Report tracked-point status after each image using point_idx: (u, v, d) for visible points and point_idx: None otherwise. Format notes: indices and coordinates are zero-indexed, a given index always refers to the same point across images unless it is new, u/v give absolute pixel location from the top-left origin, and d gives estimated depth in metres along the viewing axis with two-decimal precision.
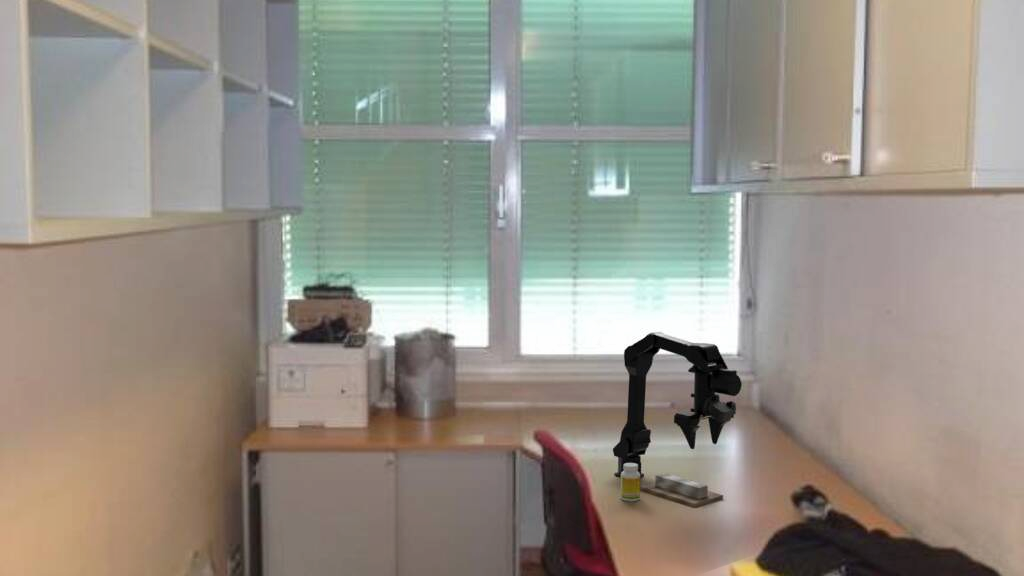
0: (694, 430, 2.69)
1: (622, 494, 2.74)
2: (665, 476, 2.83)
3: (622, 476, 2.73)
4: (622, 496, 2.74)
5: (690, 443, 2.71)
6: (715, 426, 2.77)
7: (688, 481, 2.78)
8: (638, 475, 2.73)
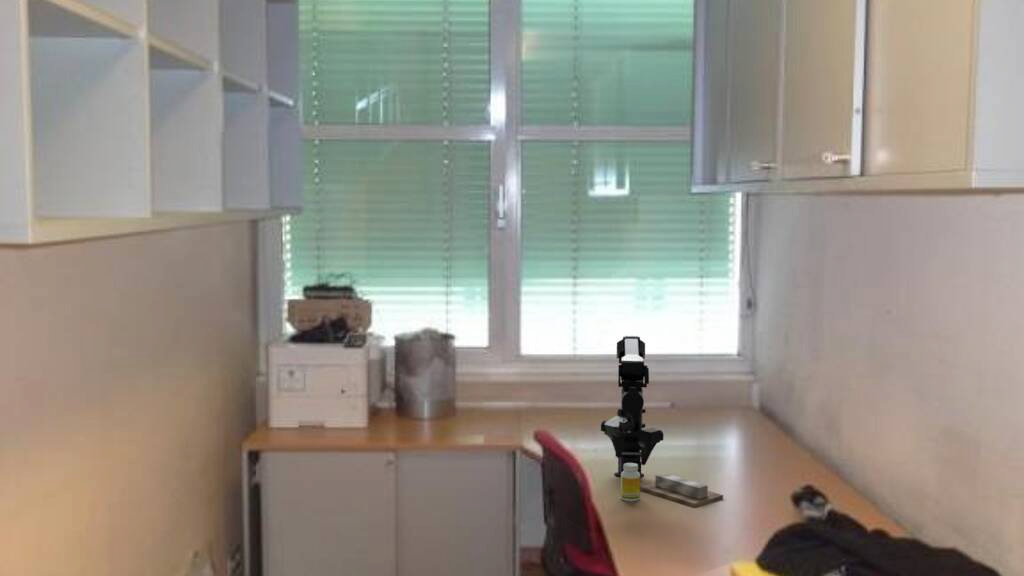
0: (610, 437, 2.77)
1: (622, 494, 2.74)
2: (665, 476, 2.83)
3: (622, 476, 2.73)
4: (622, 496, 2.74)
5: None
6: None
7: (688, 481, 2.78)
8: (638, 475, 2.73)
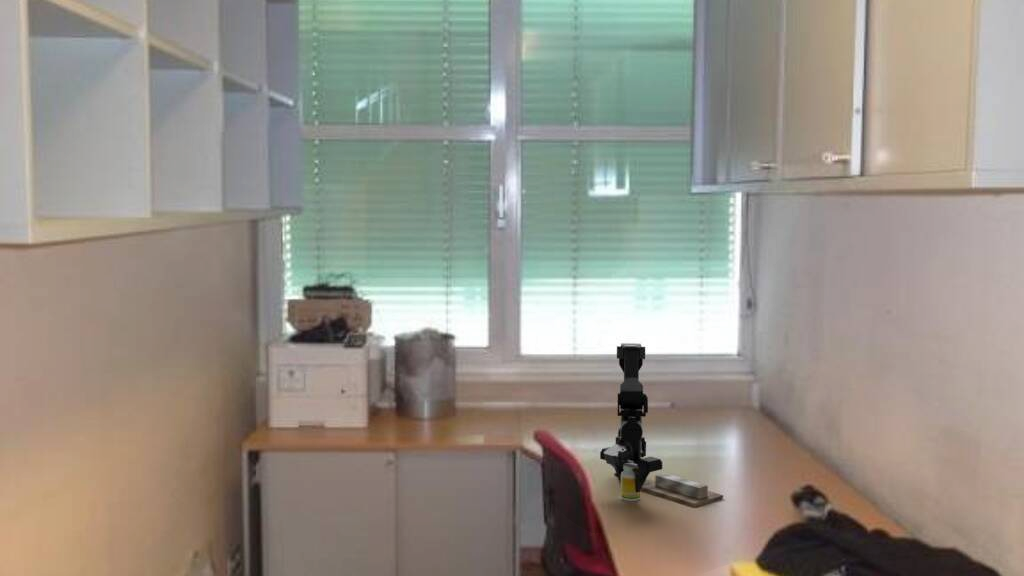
0: (614, 467, 2.77)
1: (622, 494, 2.74)
2: (665, 476, 2.83)
3: (622, 476, 2.73)
4: (622, 496, 2.74)
5: None
6: None
7: (688, 481, 2.78)
8: None
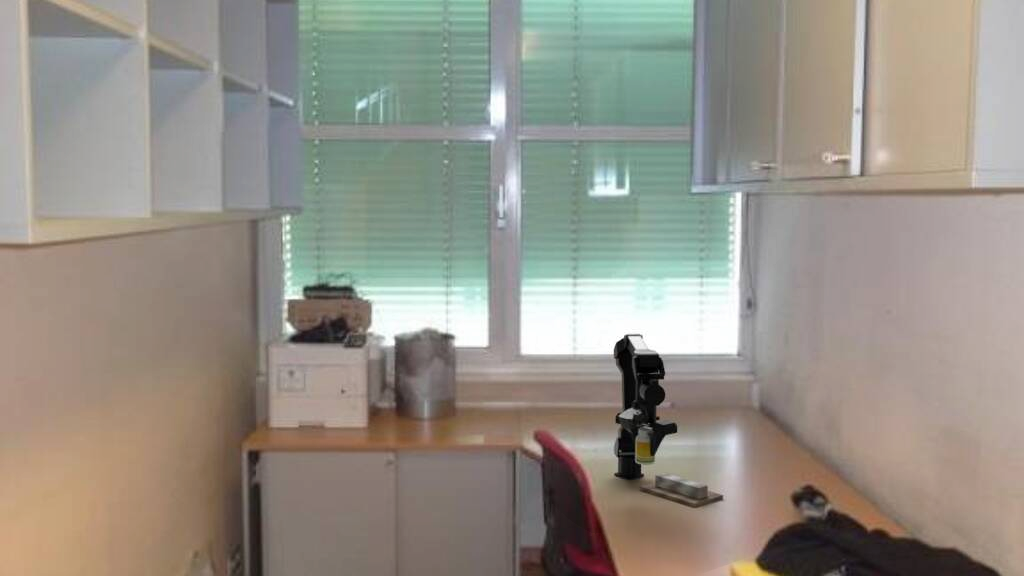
0: (629, 431, 2.77)
1: (637, 458, 2.74)
2: (665, 476, 2.83)
3: (637, 440, 2.74)
4: (637, 460, 2.74)
5: None
6: None
7: (688, 481, 2.78)
8: None
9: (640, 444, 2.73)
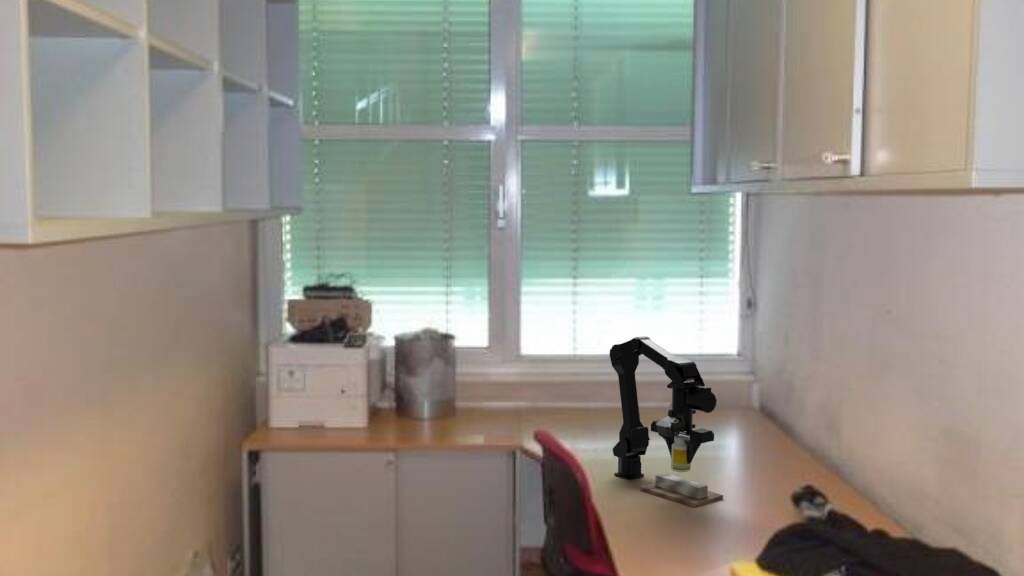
0: (665, 439, 2.80)
1: (673, 465, 2.77)
2: (665, 476, 2.83)
3: (673, 447, 2.77)
4: (673, 467, 2.77)
5: None
6: None
7: (688, 481, 2.78)
8: None
9: (677, 452, 2.76)
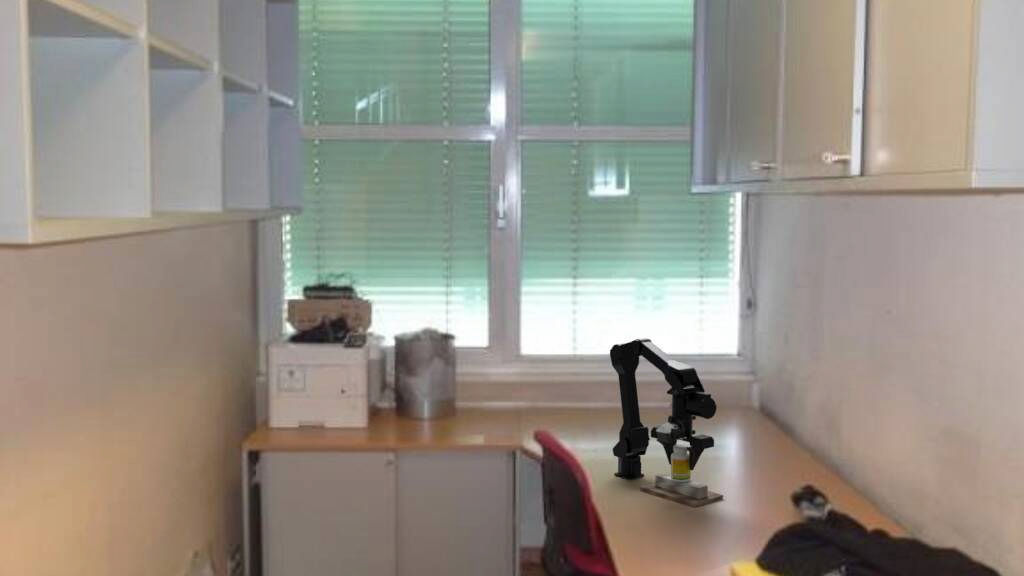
0: (663, 444, 2.81)
1: (673, 475, 2.77)
2: (665, 476, 2.83)
3: (672, 457, 2.77)
4: (673, 477, 2.78)
5: None
6: None
7: (688, 481, 2.78)
8: (688, 456, 2.77)
9: (676, 462, 2.76)
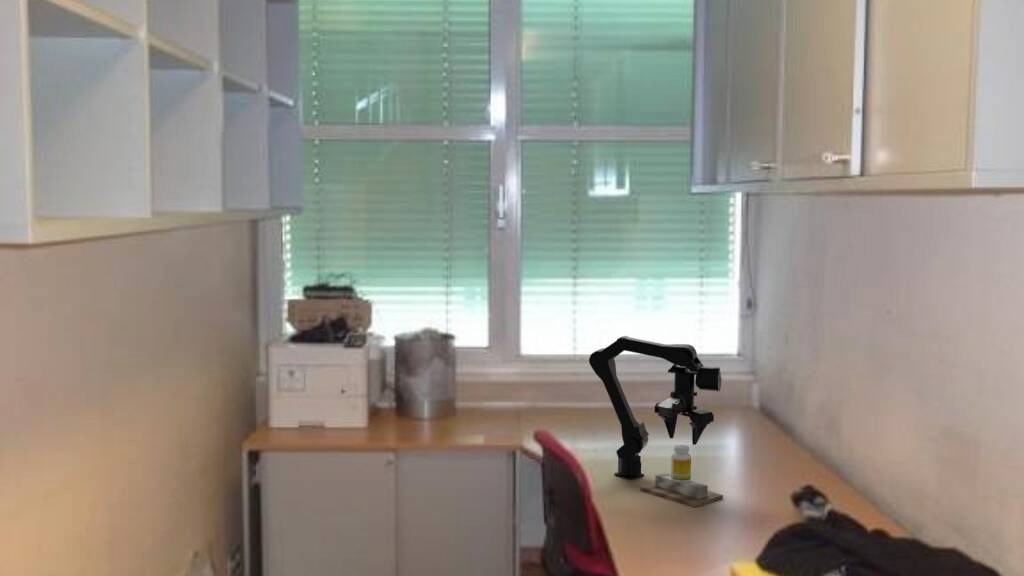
0: (663, 419, 2.94)
1: (673, 476, 2.77)
2: (665, 476, 2.83)
3: (673, 458, 2.77)
4: (673, 477, 2.78)
5: None
6: None
7: None
8: (689, 457, 2.77)
9: (677, 462, 2.76)
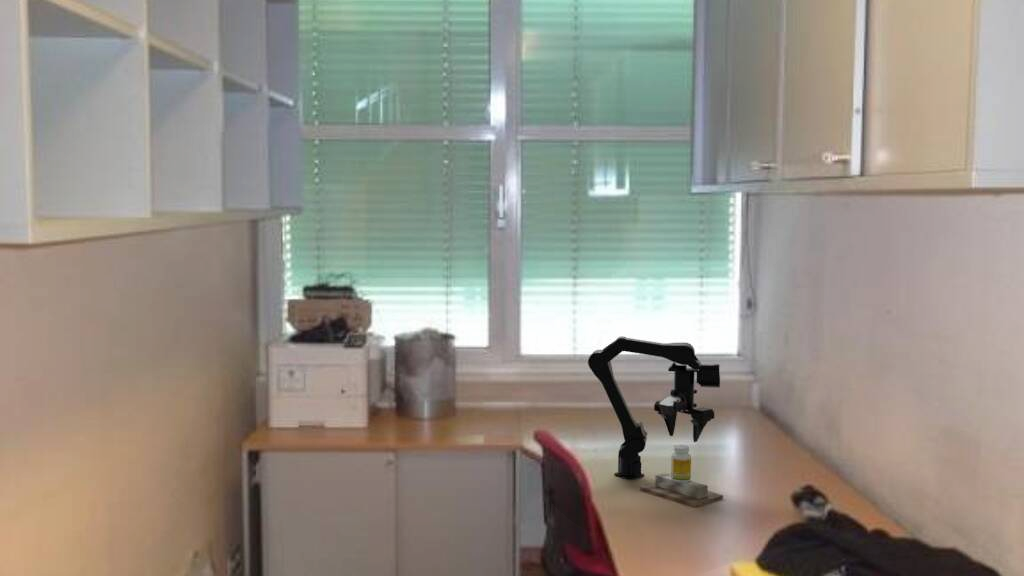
0: (663, 417, 2.96)
1: (673, 476, 2.77)
2: (665, 476, 2.83)
3: (673, 458, 2.77)
4: (673, 477, 2.78)
5: None
6: None
7: None
8: (689, 457, 2.77)
9: (677, 462, 2.76)
